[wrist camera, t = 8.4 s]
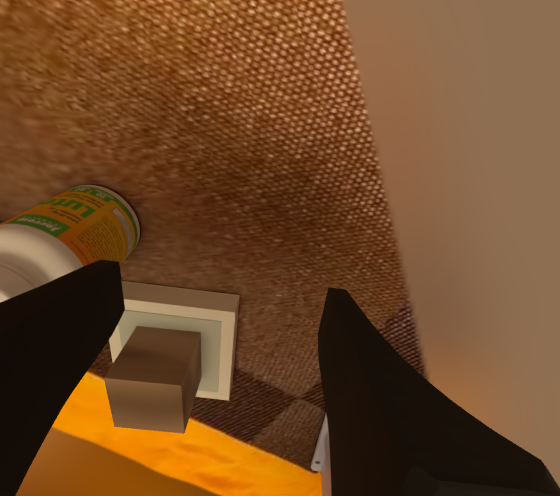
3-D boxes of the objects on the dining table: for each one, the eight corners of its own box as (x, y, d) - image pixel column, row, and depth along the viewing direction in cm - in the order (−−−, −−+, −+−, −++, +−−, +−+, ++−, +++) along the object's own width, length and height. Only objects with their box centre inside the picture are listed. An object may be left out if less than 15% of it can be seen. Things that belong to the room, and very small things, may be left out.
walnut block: (201, 376, 25) (184, 433, 21) (142, 371, 25) (114, 426, 21) (200, 332, 23) (181, 385, 19) (136, 325, 23) (103, 377, 19)
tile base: (232, 380, 28) (228, 401, 26) (128, 367, 28) (116, 388, 26) (239, 295, 24) (235, 313, 22) (116, 279, 24) (101, 297, 22)
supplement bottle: (127, 178, 20) (5, 254, 12) (152, 254, 23) (66, 363, 14) (45, 187, 21) (-129, 265, 12) (79, 260, 23) (-47, 369, 15)
